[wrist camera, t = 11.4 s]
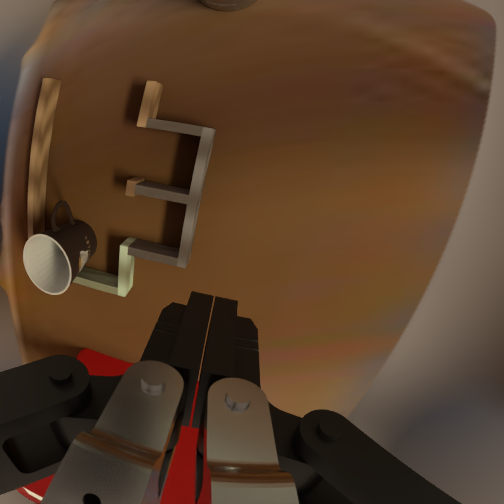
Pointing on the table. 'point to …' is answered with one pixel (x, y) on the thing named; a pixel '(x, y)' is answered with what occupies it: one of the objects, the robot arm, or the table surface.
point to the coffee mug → (59, 253)
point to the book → (182, 466)
